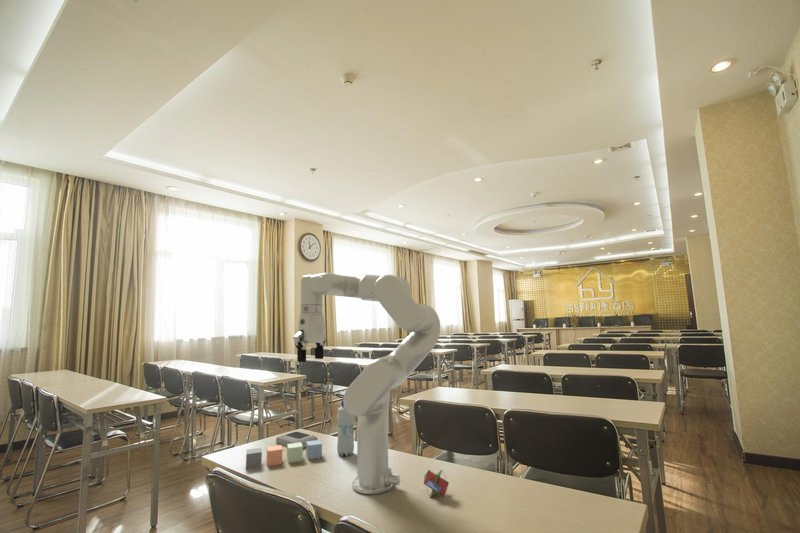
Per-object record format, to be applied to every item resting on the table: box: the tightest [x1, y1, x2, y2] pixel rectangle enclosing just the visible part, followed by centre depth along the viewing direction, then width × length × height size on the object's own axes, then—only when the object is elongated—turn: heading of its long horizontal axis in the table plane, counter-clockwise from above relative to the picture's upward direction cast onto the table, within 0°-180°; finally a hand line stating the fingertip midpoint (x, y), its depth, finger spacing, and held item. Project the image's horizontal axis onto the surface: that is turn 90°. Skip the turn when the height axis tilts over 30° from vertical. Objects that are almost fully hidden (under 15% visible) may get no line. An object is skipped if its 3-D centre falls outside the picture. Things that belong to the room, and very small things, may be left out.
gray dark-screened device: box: [275, 430, 319, 449], centre depth 154 cm, size 10×4×15 cm
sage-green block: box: [286, 442, 304, 464], centre depth 136 cm, size 5×5×5 cm
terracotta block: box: [266, 444, 283, 467], centre depth 133 cm, size 5×5×5 cm
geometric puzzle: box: [423, 469, 450, 497], centre depth 107 cm, size 7×7×8 cm
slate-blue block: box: [305, 439, 323, 460], centre depth 138 cm, size 5×5×5 cm
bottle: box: [336, 399, 355, 457], centre depth 141 cm, size 7×7×20 cm
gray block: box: [245, 447, 263, 470], centre depth 131 cm, size 5×5×5 cm
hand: (310, 360), depth 128 cm, fingers open, 9 cm apart
